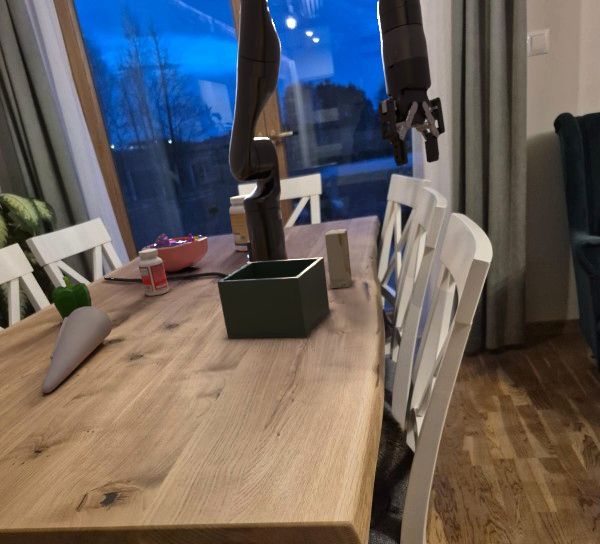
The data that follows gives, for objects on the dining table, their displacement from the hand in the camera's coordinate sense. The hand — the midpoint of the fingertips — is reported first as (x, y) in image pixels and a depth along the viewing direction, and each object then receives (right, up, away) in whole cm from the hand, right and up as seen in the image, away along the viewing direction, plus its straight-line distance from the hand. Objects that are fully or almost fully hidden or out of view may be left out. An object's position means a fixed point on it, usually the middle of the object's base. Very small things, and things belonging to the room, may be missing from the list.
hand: (418, 163), depth 102 cm
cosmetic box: (-11, -15, +33) cm, 38 cm away
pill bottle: (-58, -14, +50) cm, 78 cm away
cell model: (-57, -2, +75) cm, 95 cm away
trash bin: (-25, -27, +11) cm, 38 cm away
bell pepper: (-73, -23, +35) cm, 84 cm away
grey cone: (-61, -35, +4) cm, 70 cm away
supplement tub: (-37, +9, +94) cm, 101 cm away
